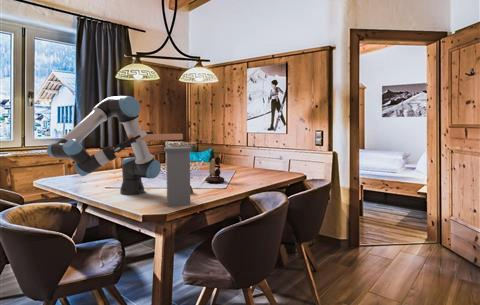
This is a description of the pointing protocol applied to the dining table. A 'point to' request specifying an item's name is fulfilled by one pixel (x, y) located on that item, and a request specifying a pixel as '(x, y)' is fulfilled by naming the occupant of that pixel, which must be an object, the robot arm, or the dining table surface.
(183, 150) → the pedestal
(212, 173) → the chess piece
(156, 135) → the slat
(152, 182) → the dining table surface
